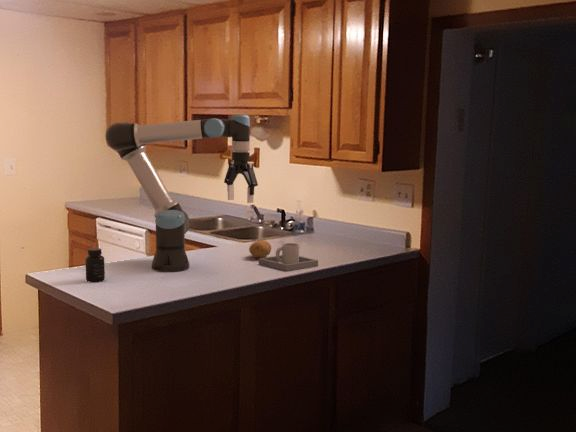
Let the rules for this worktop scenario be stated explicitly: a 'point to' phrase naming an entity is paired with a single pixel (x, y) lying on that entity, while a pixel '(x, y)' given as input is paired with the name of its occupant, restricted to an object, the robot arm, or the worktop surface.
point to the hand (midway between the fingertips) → (240, 201)
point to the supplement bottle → (95, 265)
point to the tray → (275, 264)
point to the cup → (288, 253)
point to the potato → (260, 249)
